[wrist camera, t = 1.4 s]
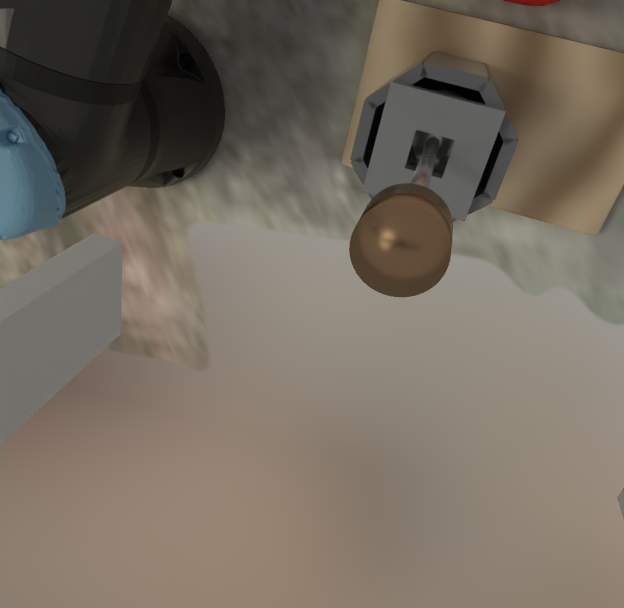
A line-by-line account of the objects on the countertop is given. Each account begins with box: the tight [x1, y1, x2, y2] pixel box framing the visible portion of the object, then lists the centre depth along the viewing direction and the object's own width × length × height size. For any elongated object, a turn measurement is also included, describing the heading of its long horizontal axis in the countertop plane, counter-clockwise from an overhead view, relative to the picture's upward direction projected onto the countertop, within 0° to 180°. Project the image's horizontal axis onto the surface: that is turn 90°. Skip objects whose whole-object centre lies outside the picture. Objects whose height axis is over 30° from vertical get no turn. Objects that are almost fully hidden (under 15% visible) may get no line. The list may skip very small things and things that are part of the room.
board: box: [341, 0, 624, 236], centre depth 42 cm, size 22×13×1 cm, turn 78°
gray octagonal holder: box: [350, 51, 518, 222], centre depth 38 cm, size 10×12×12 cm
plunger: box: [349, 89, 466, 297], centre depth 27 cm, size 7×7×20 cm
